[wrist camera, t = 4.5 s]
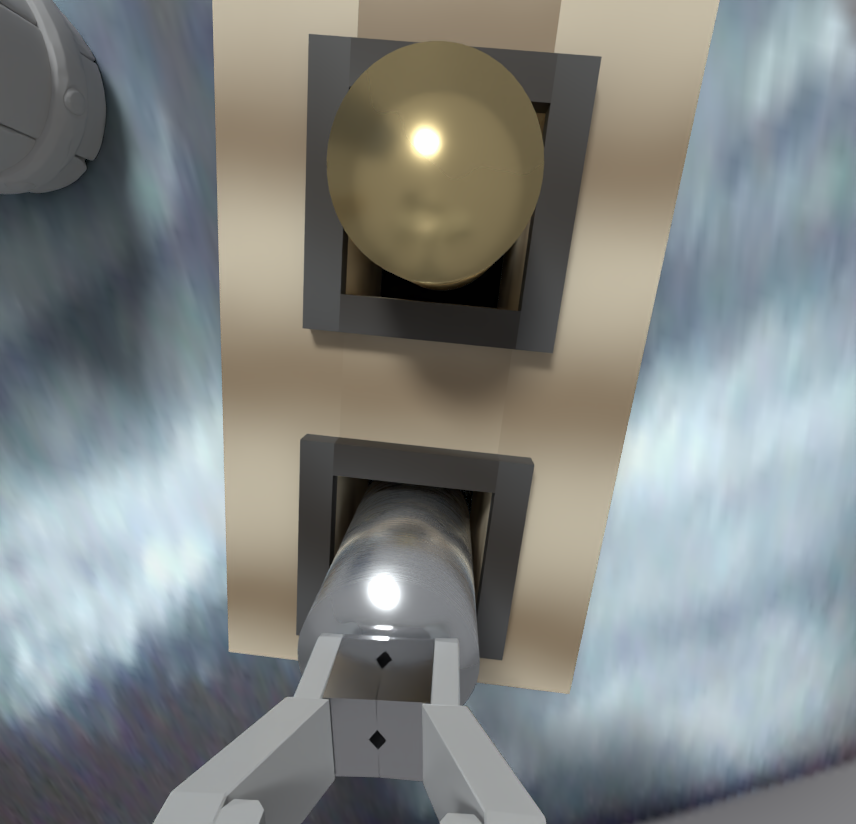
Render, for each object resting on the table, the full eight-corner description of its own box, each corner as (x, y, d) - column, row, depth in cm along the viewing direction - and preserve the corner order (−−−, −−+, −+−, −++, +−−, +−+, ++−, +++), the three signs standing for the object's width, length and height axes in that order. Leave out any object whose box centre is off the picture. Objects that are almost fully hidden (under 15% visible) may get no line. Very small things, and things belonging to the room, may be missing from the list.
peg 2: (462, 572, 16) (468, 743, 10) (356, 559, 16) (295, 721, 10) (475, 472, 15) (491, 592, 9) (362, 460, 15) (299, 569, 9)
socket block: (537, 584, 21) (574, 709, 14) (290, 556, 21) (219, 665, 15) (622, 109, 16) (736, -21, 9) (297, 83, 16) (197, -59, 10)
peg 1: (495, 296, 15) (526, 291, 8) (378, 284, 15) (323, 272, 9) (512, 165, 14) (561, 50, 7) (386, 154, 14) (330, 31, 8)
